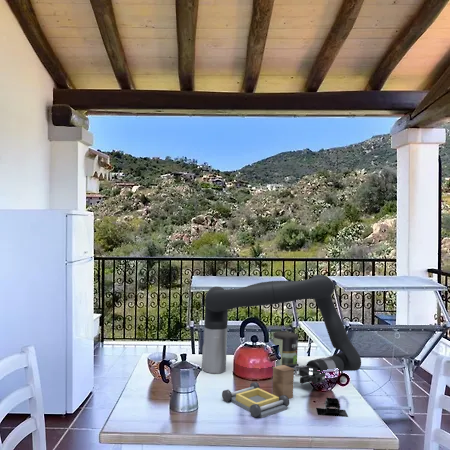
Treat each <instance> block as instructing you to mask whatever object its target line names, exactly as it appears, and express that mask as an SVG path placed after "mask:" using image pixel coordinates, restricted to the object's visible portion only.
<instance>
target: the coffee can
mask: <svg viewBox="0 0 450 450" xmlns="http://www.w3.org/2000/svg"><path fill="white" fill-rule="evenodd" d="M272 334H273V340H272V341H273V344H275V345H279V351H280V354H281V359H280V360H277V361H276V366H280V365H285V366H287V365H292V364H298V350H299V349H298V345H299V334H298V333H295V332H293V331H292V332H291V331H281V330H280V331H274V332H273V333H272ZM273 344H272V345H273Z"/></svg>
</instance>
